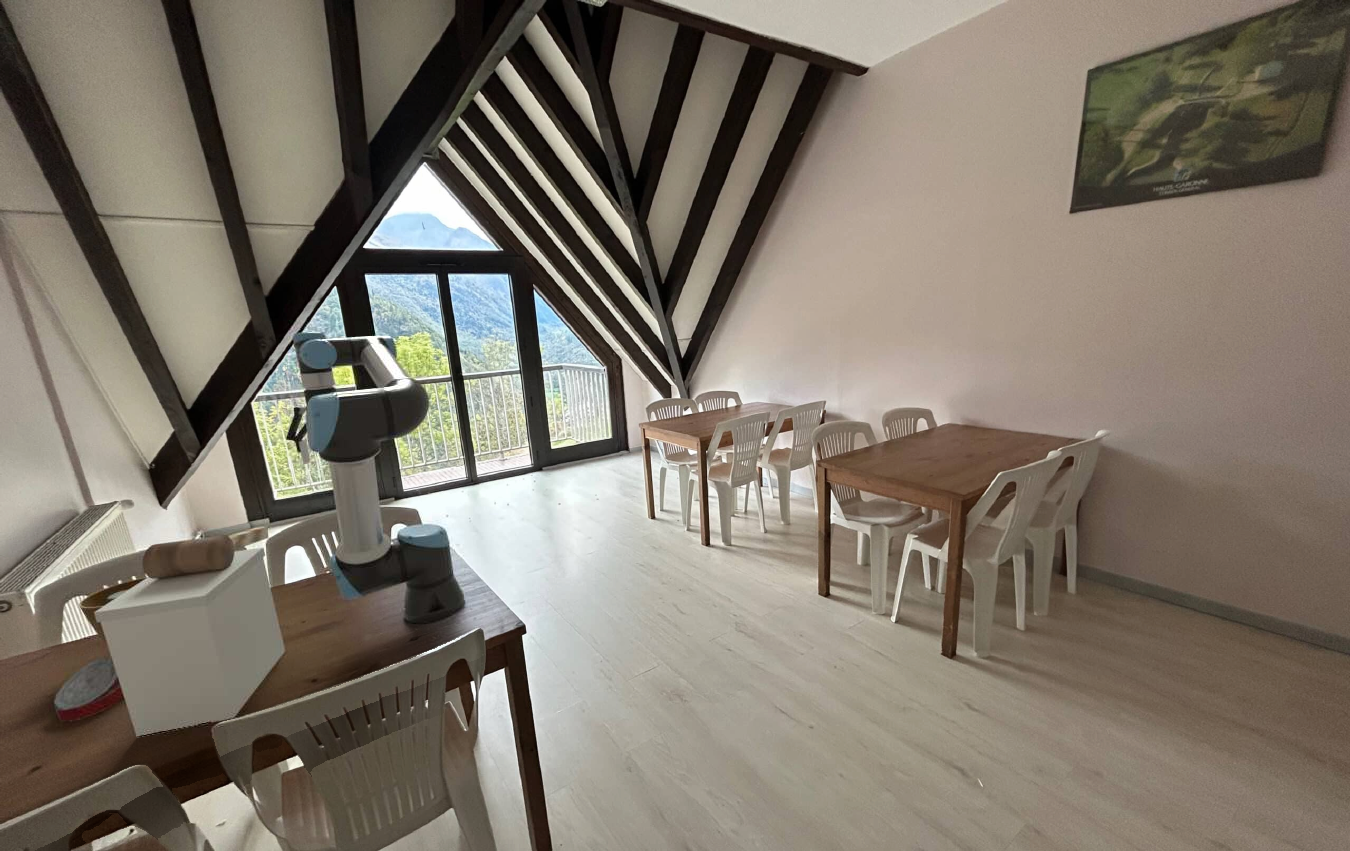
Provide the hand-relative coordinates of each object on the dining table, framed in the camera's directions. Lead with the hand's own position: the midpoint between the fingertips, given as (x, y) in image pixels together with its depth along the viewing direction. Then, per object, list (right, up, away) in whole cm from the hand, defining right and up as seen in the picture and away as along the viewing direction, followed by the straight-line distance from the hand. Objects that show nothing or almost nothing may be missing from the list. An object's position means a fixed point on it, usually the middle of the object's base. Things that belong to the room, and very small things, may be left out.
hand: (333, 460), depth 148 cm
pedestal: (0, -47, -37) cm, 60 cm away
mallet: (-5, -21, -30) cm, 37 cm away
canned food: (-25, -50, -39) cm, 68 cm away
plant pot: (-34, -46, -21) cm, 61 cm away
